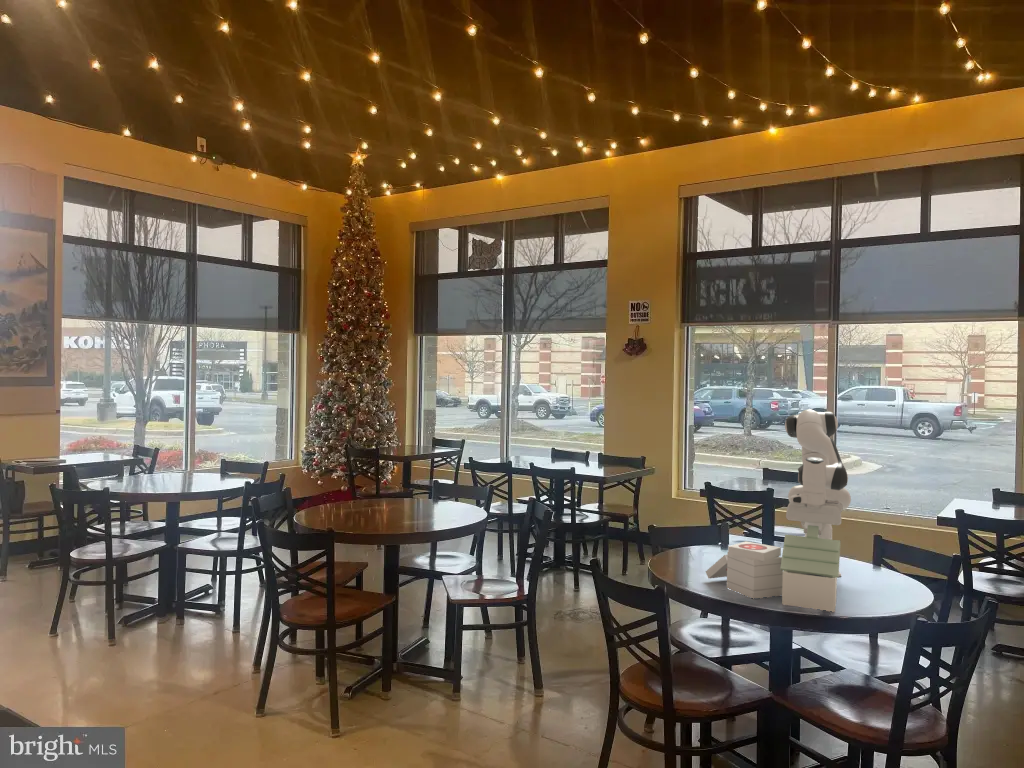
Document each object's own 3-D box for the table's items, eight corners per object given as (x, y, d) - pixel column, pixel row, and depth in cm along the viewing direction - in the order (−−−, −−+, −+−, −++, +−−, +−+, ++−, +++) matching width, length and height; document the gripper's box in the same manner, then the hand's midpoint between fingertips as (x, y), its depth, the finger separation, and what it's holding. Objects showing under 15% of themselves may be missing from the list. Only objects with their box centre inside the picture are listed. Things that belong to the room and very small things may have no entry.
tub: (786, 593, 280) (787, 563, 280) (836, 600, 271) (837, 569, 272) (782, 604, 265) (782, 572, 265) (834, 612, 257) (835, 579, 257)
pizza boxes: (736, 577, 303) (737, 535, 304) (790, 596, 276) (791, 550, 276) (700, 581, 296) (701, 538, 296) (752, 601, 268) (753, 553, 268)
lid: (786, 529, 286) (786, 523, 285) (841, 535, 277) (841, 528, 276) (780, 572, 269) (780, 566, 267) (838, 580, 260) (838, 573, 258)
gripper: (843, 500, 278) (842, 535, 278) (787, 495, 287) (786, 529, 287) (842, 502, 272) (841, 538, 272) (785, 497, 281) (785, 532, 282)
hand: (813, 533), depth 280 cm, fingers closed on lid, 4 cm apart
